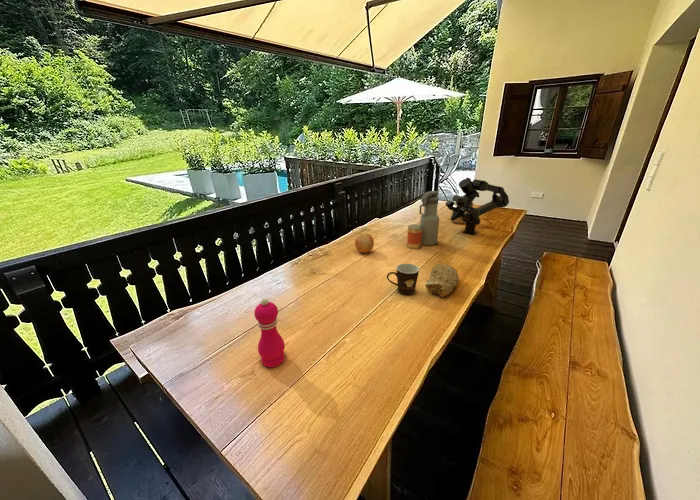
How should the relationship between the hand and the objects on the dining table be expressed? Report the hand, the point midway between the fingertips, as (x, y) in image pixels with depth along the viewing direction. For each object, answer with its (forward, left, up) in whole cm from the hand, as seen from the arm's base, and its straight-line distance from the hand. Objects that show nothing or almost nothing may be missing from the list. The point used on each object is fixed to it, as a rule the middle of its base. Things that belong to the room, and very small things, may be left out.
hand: (451, 220), depth 168 cm
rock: (+55, +17, -10) cm, 59 cm away
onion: (+45, -28, -10) cm, 54 cm away
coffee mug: (+68, +6, -10) cm, 69 cm away
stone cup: (-34, -4, -10) cm, 36 cm away
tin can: (+23, -11, -10) cm, 28 cm away
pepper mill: (+123, -6, -10) cm, 124 cm away
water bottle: (+15, -7, -10) cm, 19 cm away
